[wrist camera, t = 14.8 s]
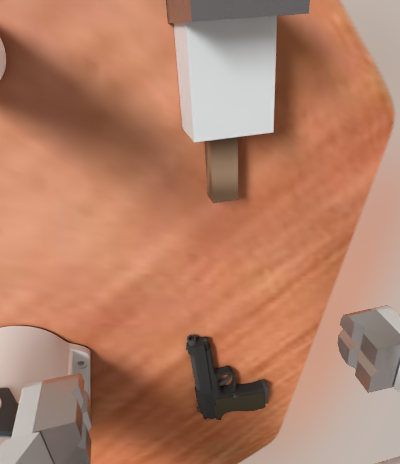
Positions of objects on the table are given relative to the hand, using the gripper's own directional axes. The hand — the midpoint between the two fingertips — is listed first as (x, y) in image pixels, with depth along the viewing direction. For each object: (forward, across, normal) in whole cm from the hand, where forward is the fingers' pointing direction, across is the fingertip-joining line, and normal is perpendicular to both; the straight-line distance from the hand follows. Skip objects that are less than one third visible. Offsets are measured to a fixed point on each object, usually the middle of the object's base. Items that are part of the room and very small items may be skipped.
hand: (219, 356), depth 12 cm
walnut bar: (+34, +9, -2) cm, 35 cm away
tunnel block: (+33, +9, +4) cm, 35 cm away
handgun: (+34, +9, -40) cm, 53 cm away
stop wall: (+33, +9, +10) cm, 36 cm away
